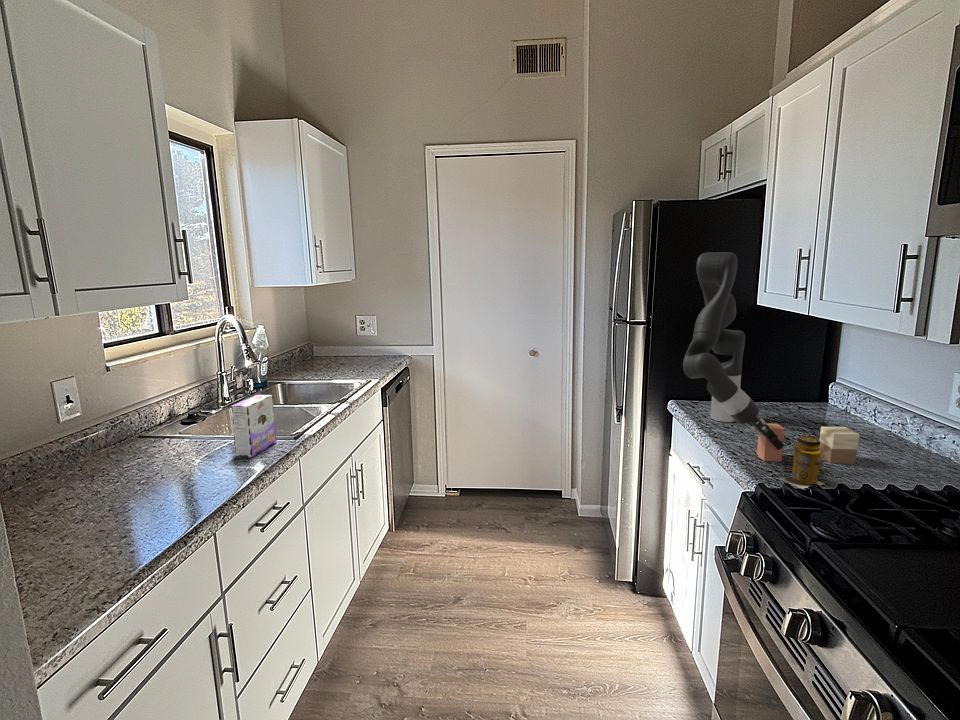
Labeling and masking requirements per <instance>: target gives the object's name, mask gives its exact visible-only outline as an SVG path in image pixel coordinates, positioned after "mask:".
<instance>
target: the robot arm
mask: <svg viewBox="0 0 960 720" xmlns="http://www.w3.org/2000/svg"><path fill="white" fill-rule="evenodd" d="M737 271H738V257H737V254H736V253H734V252H728V251H720V252H719V251H718V252H717V251H716V252H714V251H709V252H708V251H707V252H703V253H701V254H700V255H699V256H698V257H697V260H696V275H697V279H698V282H699V285H700V289H701V292H702V295H703V300H704V307H703V308H702V309H701V311H700V312H699V314H698V316H697V318H696V319H695V323H694V328H693V333H692V339H691V342H690V344H689V345H688V348H687V350H686V352H685V354H684V357H683V359H682V360H683V361H682V370H683V372H684V374H685V376H687V377H688V378H690V379H695V380H697V379H703V378H704V379H706V380H707V384H706V390H707V391H708V393H709V395H711V406H710V415H709V416H710V417H709V418H710V419H712V420H714V421H717V422H724V423H734V422H736V423H737V424H739V425H747V426H749V427H750V428H751V429H752V431H754V432H756V433H757V434H758V435H759V434H760V435H761V436H764V437H765V438H766V439H767V440H768V441H769V442H771V443H772V444H773V445H774V446H775V447H776V449H778V450H780V449H781V448H782V447H783V448H784V447H785V444H784V442H783V443H782V442H781V441H780V440H779V439H778V438H777V437H778V436H777V435H776V434H775V433H774V432H773V431H772V430H771V428H770V427H769V426H768V425H767V424H766V422H765V419H763V418H762V417H761V416H759V413H760V406H759V405H758V404H757V403H756V402H755V401H754V400H753V399H752V398H751V397H750V396H749V395H748V394H747V393H746V392H745V391H744V390H743V389H742V388H741V381H742V380H741V379H742V370H743V369H742V368H743V357H744V351H745V345H746V336H745V335H746V334H745V332H744V331H743V330H738V329H736V330H735V329H727V327H728V326H729V325H731V324H732V322H733V321H734V320H735V318H736V316H737V305H736V299H735V297H734V296H733V293H731V292H732V290H733V287H734V283H735V280H736V275H737ZM710 351H713V353H714V354H716V355H721V356H732V358H731V359H729V360H728V361H725V362H721V361H720V360H719V359H718V358H717V357H716V356H715V355H713V354H712V353H710ZM759 431H760V432H761V433H760V432H759ZM771 434H772V435H771ZM770 435H771V436H770ZM769 436H770V437H769Z"/></svg>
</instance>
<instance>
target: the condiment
mask: <svg viewBox="0 0 960 720" xmlns="http://www.w3.org/2000/svg"><path fill="white" fill-rule="evenodd" d="M821 458H822V457H821V451H820V438H819V439H818V438H816V437H813V436H805V435H804V436H803V435H802V436H798V437H797V441H796V446H795V447H794V451H793V461H792V471H791V475H789V476H785V477H780V478H778V480H780V481H781V482H785V483H787V482H788V483H787V484H790V485H791V486H794V487H797V488H799V489H802V490H805V489H804V488H808V486H809V485H810V484H818V485H819V486H822V485H825V484H826V483H825V482H823V481H822V482H821V481H819V480H818V479H819V472H820V463H821ZM808 489H809V488H808Z"/></svg>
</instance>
